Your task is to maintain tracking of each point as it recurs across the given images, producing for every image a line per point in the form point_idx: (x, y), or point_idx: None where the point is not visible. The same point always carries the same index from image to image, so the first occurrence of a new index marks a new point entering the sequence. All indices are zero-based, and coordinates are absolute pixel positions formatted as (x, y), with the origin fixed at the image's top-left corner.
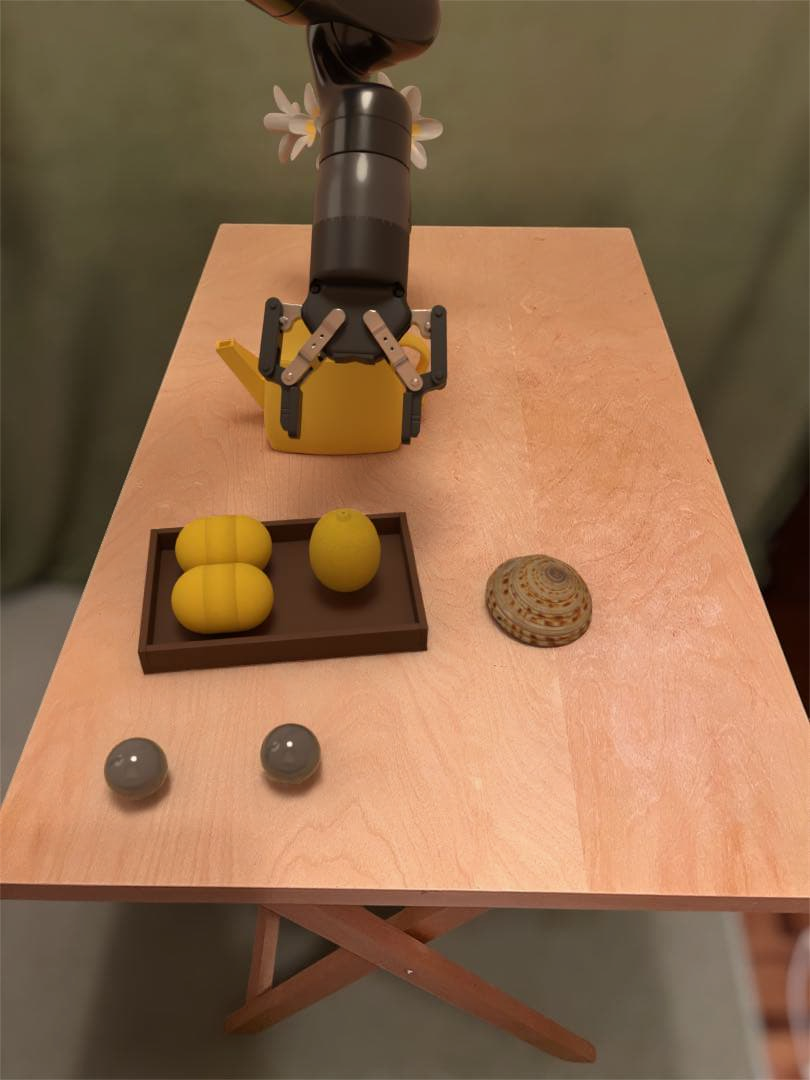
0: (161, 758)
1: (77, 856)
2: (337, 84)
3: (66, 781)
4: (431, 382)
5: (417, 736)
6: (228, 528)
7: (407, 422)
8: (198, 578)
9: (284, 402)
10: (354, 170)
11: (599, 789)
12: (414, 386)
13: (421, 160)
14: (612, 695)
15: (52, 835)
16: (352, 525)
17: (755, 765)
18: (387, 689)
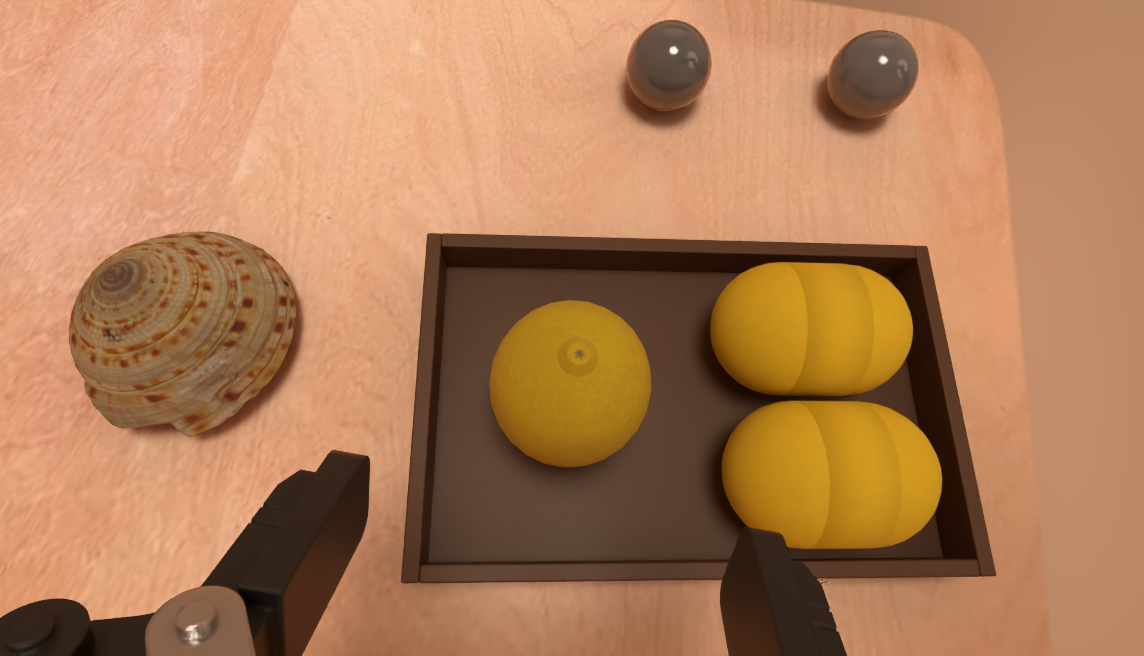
0: (845, 60)
1: None
2: None
3: (946, 121)
4: (104, 640)
5: (483, 118)
6: (842, 450)
7: (319, 491)
8: (878, 301)
9: (830, 651)
10: None
11: (255, 16)
12: (210, 603)
13: None
14: (159, 141)
15: (937, 60)
16: (558, 329)
17: (14, 14)
18: (514, 197)
